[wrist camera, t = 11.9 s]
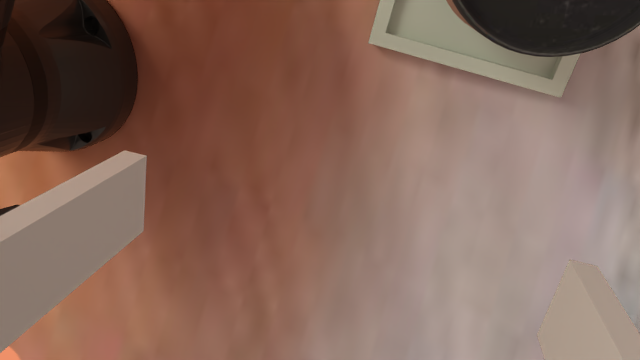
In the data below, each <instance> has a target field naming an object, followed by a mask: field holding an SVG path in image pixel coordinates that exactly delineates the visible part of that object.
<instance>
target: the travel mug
mask: <svg viewBox="0 0 640 360" xmlns="http://www.w3.org/2000/svg"><path fill="white" fill-rule="evenodd" d="M446 1H447V3H448V4H449V6H450V8H451V9H452V10H453V12H454V13H455V14H456V15H457V16H458V17H459V18H460V19H461V20H462V21H463V22H464V23H466V24H467V25H469V26H470V27H471V28H473V29H474V30H476V31H477V32H478V33H480V34H481V35H483V36H484V37H486V38H487V39H489V40H490V41H492V42H493V43H495V44H497V45H499V46H501V47H503V48H505V49H508V50H511V51H514V52H517V53H520V54H526V55H531V56H538V57H560V56H570V55H575V54H580V53H584V52H587V51H590V50H594V49H597V48H600V47H602V46H604V45H607V44H609V43H611V42H613V41H615V40H617V39H619V38H621V37H622V36H624V35H626V34H627V33H629V32H631V31H632V30H634V29H635V28H636V27H638V26H639V25H640V0H446Z"/></svg>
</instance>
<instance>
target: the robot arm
mask: <svg viewBox="0 0 640 360" xmlns="http://www.w3.org/2000/svg"><path fill="white" fill-rule="evenodd" d="M136 90H137V65H136V59H135V54H134V50H133V47H132V44H131V41H130V38H129V36H128V33H127V31H126V29H125V27H124V25H123V24H122V22H121V20H120V18H119V17H118V15H117V14H116V12H115V11H114V10H113V8H112V7H111V6H110V5H109V4H108V2H107V1H106V0H0V157H2V156H5V155H7V154H10V153H13V152H16V151H52V152H67V151H74V150H79V149H83V148H86V147H88V146H91V145H93V144H96V143H98V142H100V141H103V140H105V139H106V138H108V137H110V136H111V135H112V134H114V133H115V132H116V131H117V130H118V129H119V128H120V127H121V126H122V125H123V123H124V122H125V121H126V119H127V117H128V116H129V114H130V112H131V109H132V107H133V104H134V100H135V96H136ZM146 161H147V156H146V155H142V154H138V153H134V152H130V151H125V150H124V151H122V152H120V153H118V154H117V155H115V156H113V157H111V158H109V159H107V160H105V161H103V162H101V163H100V164H98V165H96V166H94V167H92V168H90V169H88V170H86V171H84V172H83V173H81V174H79V175H77V176H75V177H73V178H71V179H69V180H67V181H66V182H64V183H62V184H60V185H58V186H56V187H54V188H52V189H50V190H49V191H47V192H45V193H43V194H41V195H39V196H37V197H35V198H33V199H32V200H30V201H28V202H26V203H24V204H22V205H14V206H10V207H6V208H3V209H0V353H1V352H2V351H3V350H4V349H5V348H7V347H8V346H9V345H10V344H11V343H13V342H14V341H15V340H16V339H17V338H18V337H20V336H21V335H22V334H23V333H24V332H25V331H27V330H28V329H29V328H30V327H31V326H33V325H34V324H35V323H36V322H37V321H38V320H40V319H41V318H42V317H43V316H44V315H45V314H47V313H48V312H49V311H50V310H51V309H53V308H54V307H55V306H56V305H57V304H58V303H60V302H61V301H62V300H63V299H64V298H65V297H67V296H68V295H69V294H70V293H71V292H73V291H74V290H75V289H76V288H77V287H78V286H80V285H81V284H82V283H83V282H84V281H85V280H87V279H88V278H89V277H90V276H91V275H92V274H94V273H95V272H96V271H97V270H98V269H100V268H101V267H102V266H103V265H104V264H105V263H107V262H108V261H109V260H110V259H111V258H112V257H114V256H115V255H116V254H117V253H118V252H120V251H121V250H122V249H123V248H124V247H125V246H127V245H128V244H129V243H130V242H131V241H132V240H134V239H135V238H136V237H137V236H138V235H140V234H141V233H142V232H143V231H144V210H145V185H146ZM537 337H538V340H539V343H540V346H541V349H542V352H543V355H544V358H545V360H640V334H639V332H638V331H637V329H636V328H635V326H634V324H633V323H632V321H631V320H630V318H629V316H628V315H627V313H626V312H625V310H624V308H623V307H622V305H621V304H620V302H619V300H618V299H617V297H616V296H615V294H614V292H613V291H612V289H611V288H610V286H609V284H608V283H607V281H606V279H605V278H604V276H603V275H602V273H601V271H600V270H599V268H598V267H597V266H594V265H590V264H586V263H582V262H578V261H574V260H569V263H568V265H567V267H566V269H565V272H564V274H563V276H562V279H561V281H560V283H559V286H558V288H557V290H556V293H555V295H554V297H553V300H552V302H551V304H550V306H549V309H548V311H547V313H546V316H545V318H544V320H543V323H542V325H541V327H540V330H539V332H538V334H537Z"/></svg>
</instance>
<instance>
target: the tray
mask: <svg viewBox="0 0 640 360" xmlns="http://www.w3.org/2000/svg"><path fill="white" fill-rule="evenodd" d="M368 43H370V44H373V45H377V46H380V47H384V48H387V49H391V50H394V51H398V52H401V53H405V54H408V55H412V56H415V57H419V58H422V59H426V60H429V61H433V62H436V63H440V64H444V65H447V66H451V67H454V68H458V69H461V70H465V71H468V72H472V73H475V74H479V75H482V76H486V77H489V78H493V79H496V80H500V81H503V82H507V83H510V84H514V85H517V86H521V87H524V88H528V89H531V90H535V91H538V92H542V93H545V94H549V95H552V96H556V97H559V98H561V96H562V94H563V92H564V90H565V87H566V85H567V83H568V81H569V78H570V76H571V74H572V72H573V69H574V67H575V65H576V63H577V61H578V58H579V56H580V54H581V53H580V54H575V55H570V56H560V57H538V56H531V55H526V54H520V53H517V52H514V51H511V50H508V49H505V48H503V47H501V46H499V45H497V44H495V43H493V42H492V41H490V40H489V39H487V38H486V37H484V36H483V35H481V34H480V33H478V32H477V31H476V30H474V29H473V28H471V27H470V26H469V25H467V24H466V23H464V22H463V21H462V20H461V19H460V18H459V17H458V16H457V15H456V14H455V13H454V12H453V10H452V9H451V8H450V6H449V4H448V3H447V1H446V0H380V2H379V6H378V10H377V13H376V17H375V20H374V24H373V28H372V31H371V35H370V38H369V42H368Z"/></svg>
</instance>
